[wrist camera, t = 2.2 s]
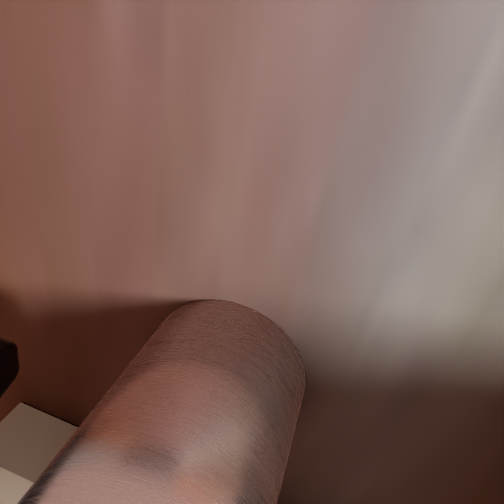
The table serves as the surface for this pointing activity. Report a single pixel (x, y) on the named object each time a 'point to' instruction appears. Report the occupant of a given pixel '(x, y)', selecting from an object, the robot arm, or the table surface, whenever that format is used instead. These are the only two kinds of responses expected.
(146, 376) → the loose cylinder
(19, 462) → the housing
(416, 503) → the table surface
